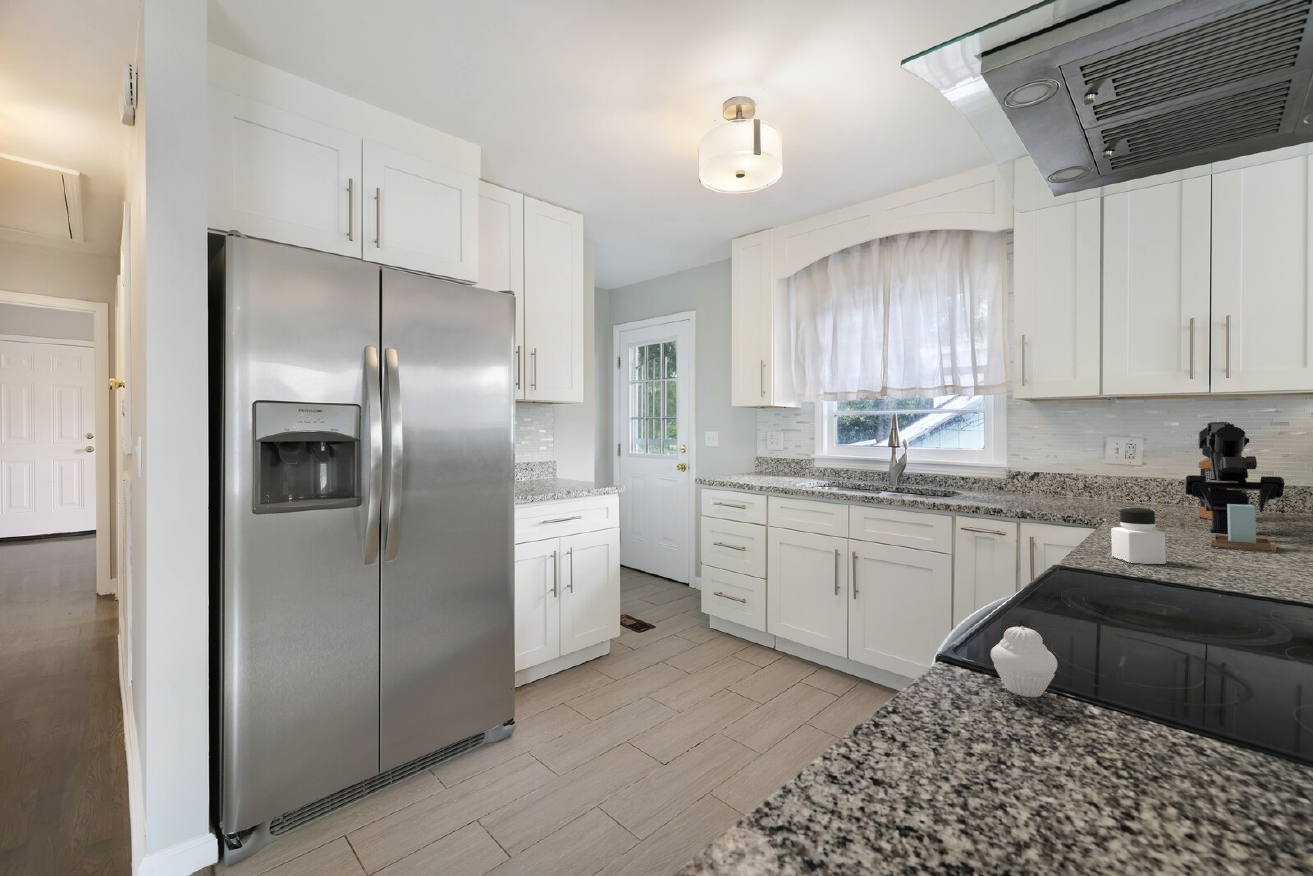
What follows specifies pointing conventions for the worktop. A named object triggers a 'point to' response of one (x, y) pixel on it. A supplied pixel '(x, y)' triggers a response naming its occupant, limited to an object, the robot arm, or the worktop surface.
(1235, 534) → the post
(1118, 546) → the medicine bottle
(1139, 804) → the worktop surface
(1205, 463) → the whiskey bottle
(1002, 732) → the worktop surface
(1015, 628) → the muffin
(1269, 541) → the tray
